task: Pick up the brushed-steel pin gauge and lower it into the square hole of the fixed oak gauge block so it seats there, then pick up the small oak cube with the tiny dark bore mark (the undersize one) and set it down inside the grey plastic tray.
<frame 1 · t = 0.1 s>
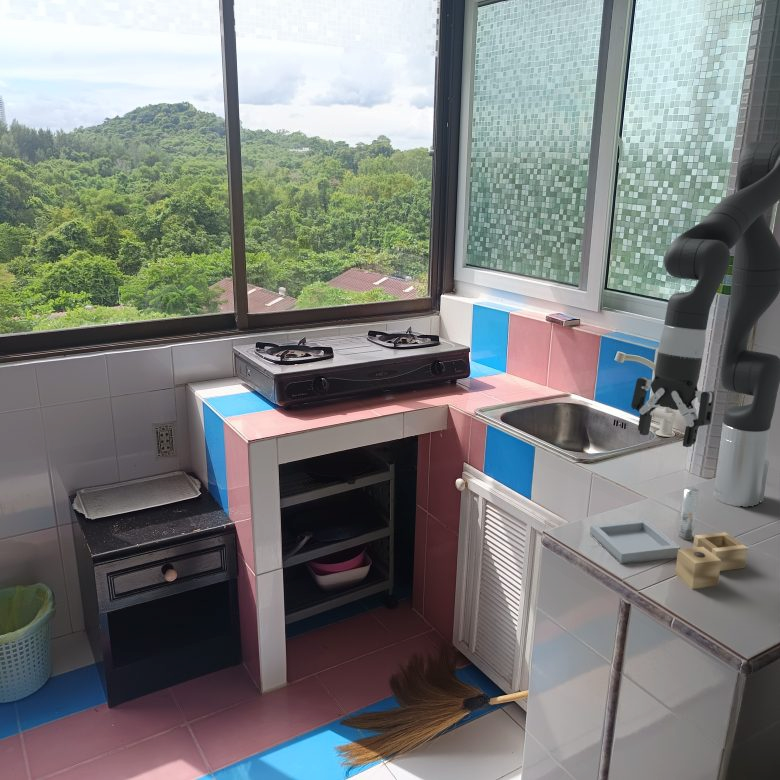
hand: (664, 440, 135), 22 cm above the countertop, tool pointing down, fingers open, 8 cm apart
tray: (633, 545, 142), on the countertop
oak block: (718, 561, 136), on the countertop
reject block: (696, 580, 130), on the countertop
pin gauge: (685, 536, 146), on the countertop
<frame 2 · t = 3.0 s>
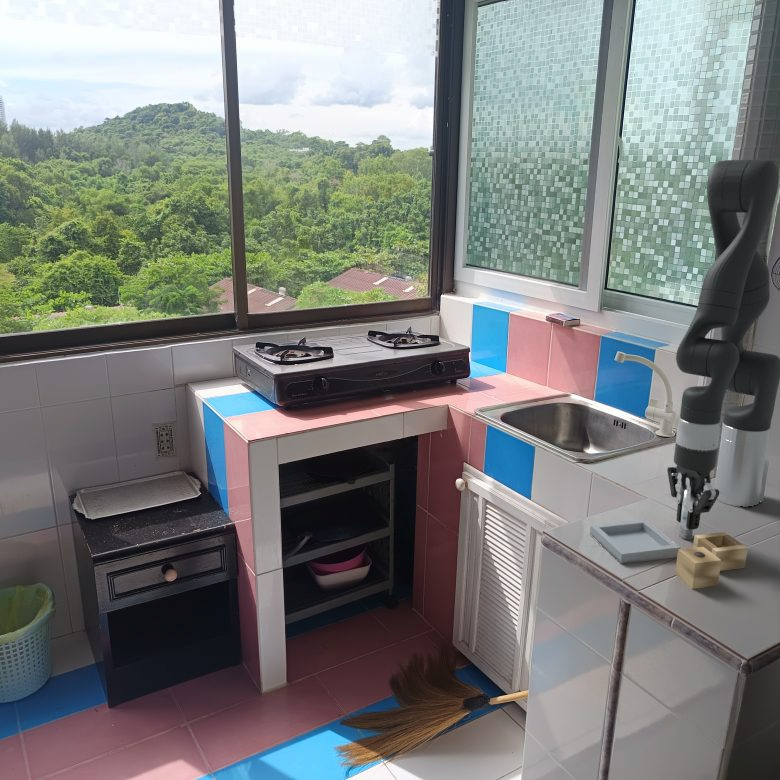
hand: (687, 524, 145), 3 cm above the countertop, tool pointing down, fingers closed on pin gauge, 2 cm apart
pin gauge: (685, 536, 146), on the countertop, touching gripper
everything else where it was.
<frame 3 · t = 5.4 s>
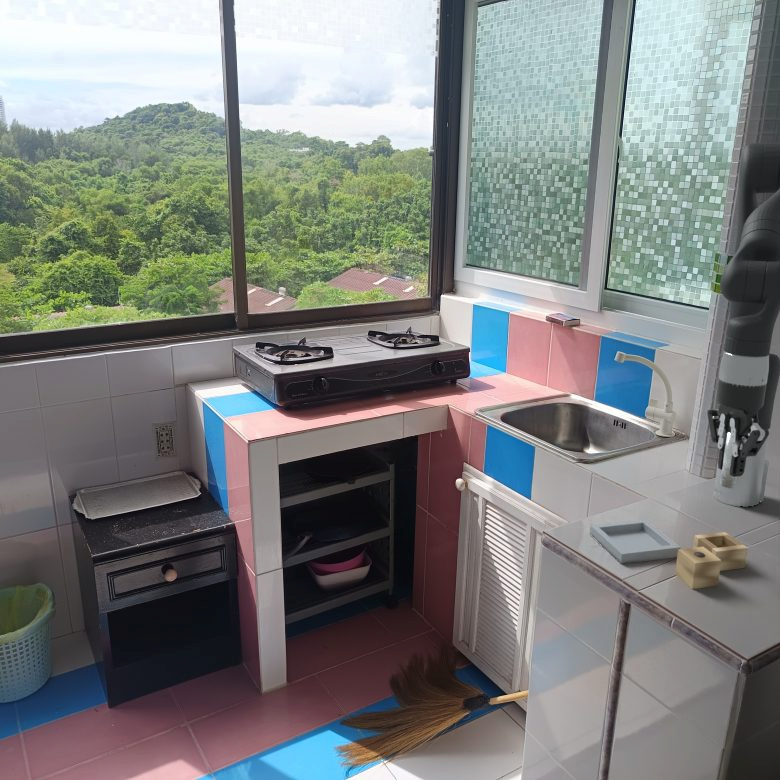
hand: (730, 471, 131), 18 cm above the countertop, tool pointing down, fingers closed on pin gauge, 2 cm apart
pin gauge: (727, 485, 132), point 15 cm above the countertop, touching gripper
everything else where it was.
when the fingers open (4 cm above the countertop, at t = 7.9 s): pin gauge drops 1 cm, resting in oak block.
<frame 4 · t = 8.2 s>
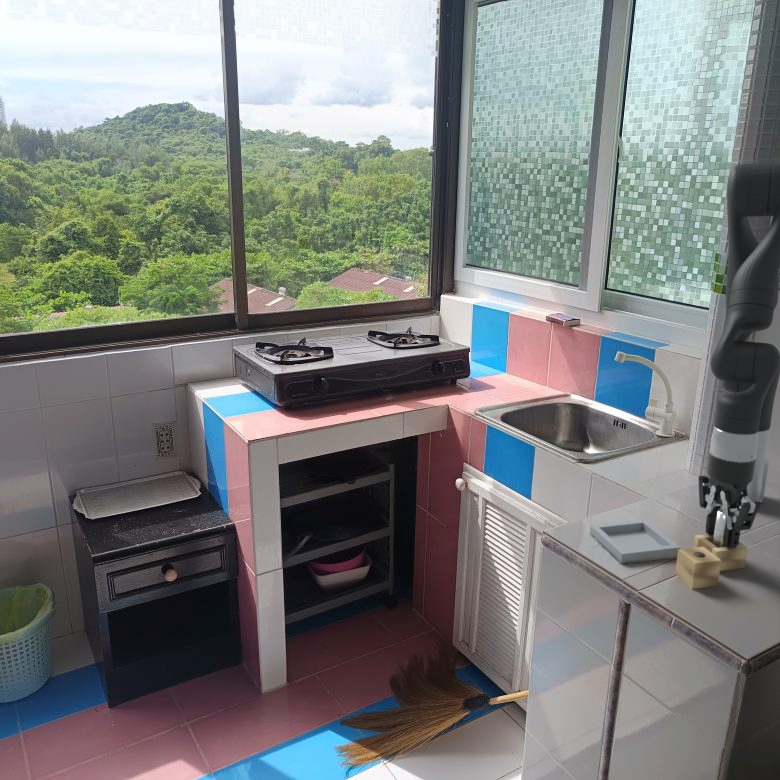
hand: (720, 539, 135), 4 cm above the countertop, tool pointing down, fingers open, 4 cm apart
pin gauge: (717, 560, 136), resting in oak block
everything else where it was.
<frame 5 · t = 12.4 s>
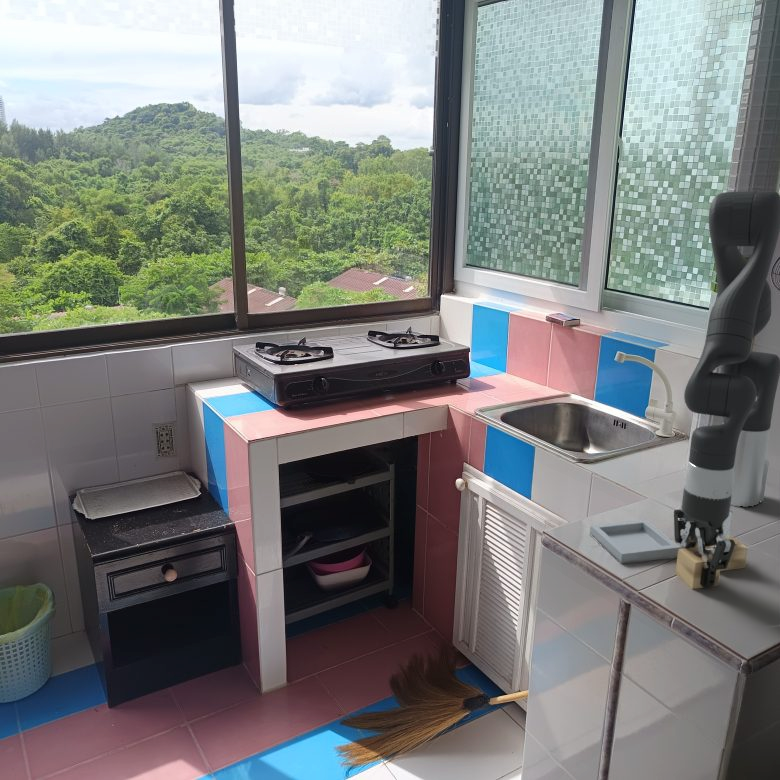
hand: (696, 577, 130), 0 cm above the countertop, tool pointing down, fingers closed on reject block, 5 cm apart
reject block: (696, 580, 130), on the countertop, touching gripper
everything else where it was.
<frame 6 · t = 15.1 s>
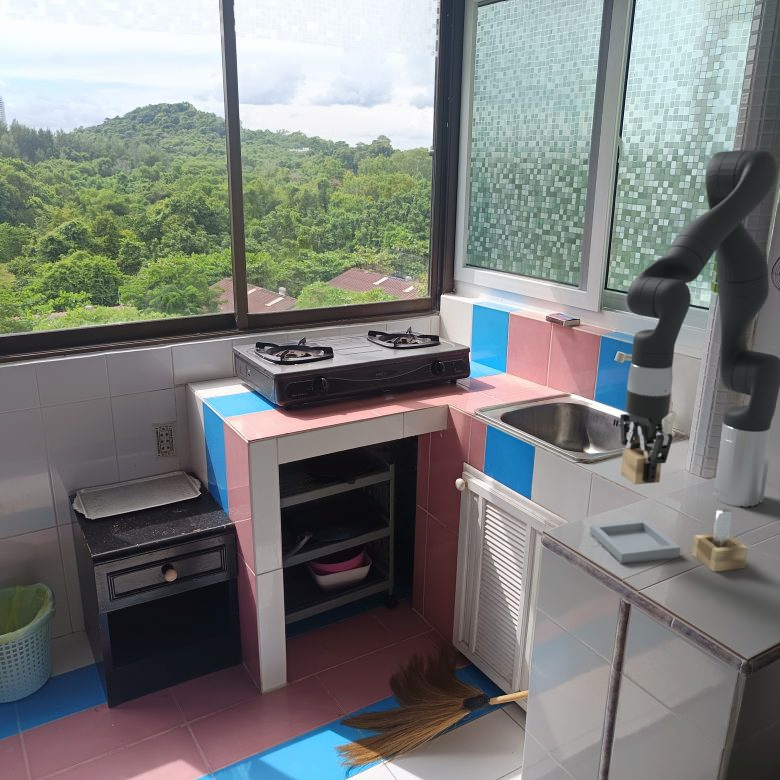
hand: (640, 475, 138), 14 cm above the countertop, tool pointing down, fingers closed on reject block, 5 cm apart
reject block: (639, 478, 138), point 14 cm above the countertop, touching gripper
everything else where it was.
when the fingers open (2 cm above the countertop, at t = 17.6 s): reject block drops 1 cm, resting on tray.
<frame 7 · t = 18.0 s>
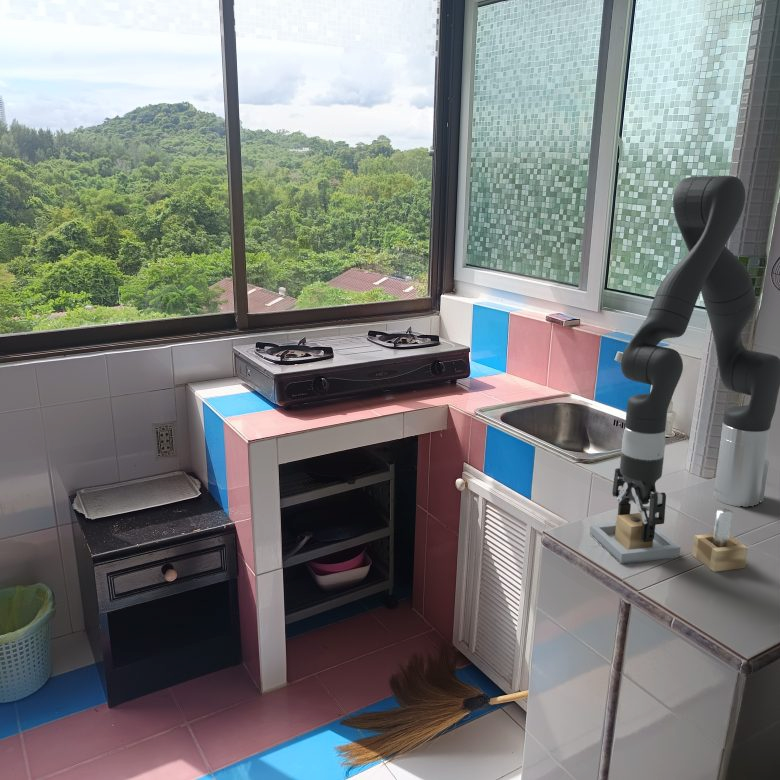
hand: (634, 530, 141), 3 cm above the countertop, tool pointing down, fingers open, 8 cm apart
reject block: (633, 543, 142), resting on tray
everything else where it was.
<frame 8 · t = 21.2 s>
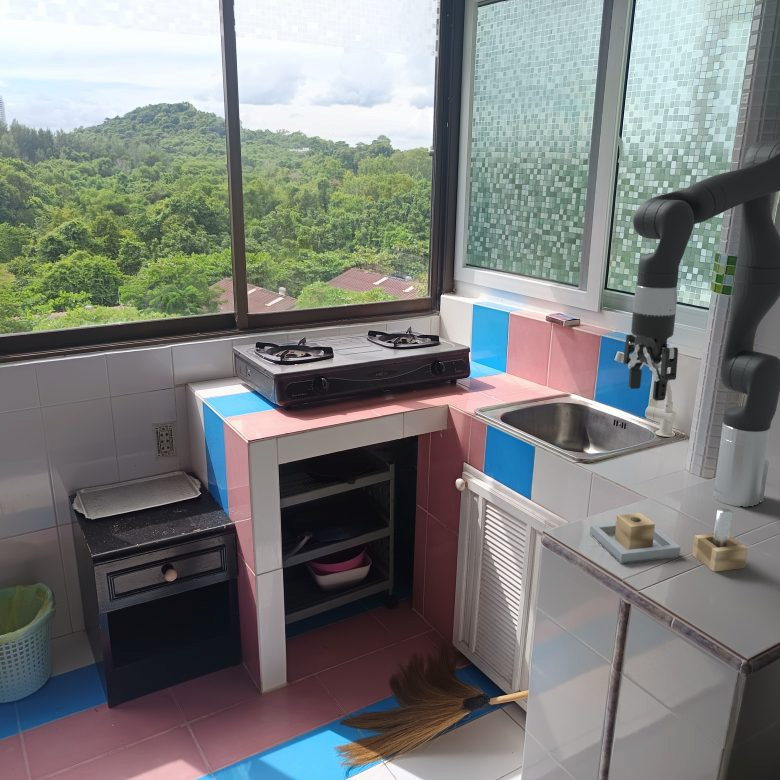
hand: (645, 393, 142), 28 cm above the countertop, tool pointing down, fingers open, 8 cm apart
nothing on the countertop moved.
at the end: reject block inside the target area (0.0 cm from its centre), resting on tray; pin gauge 0.1 cm off-centre on the oak block, point 0.0 cm above the oak block's base; pin gauge tilted 1° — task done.
